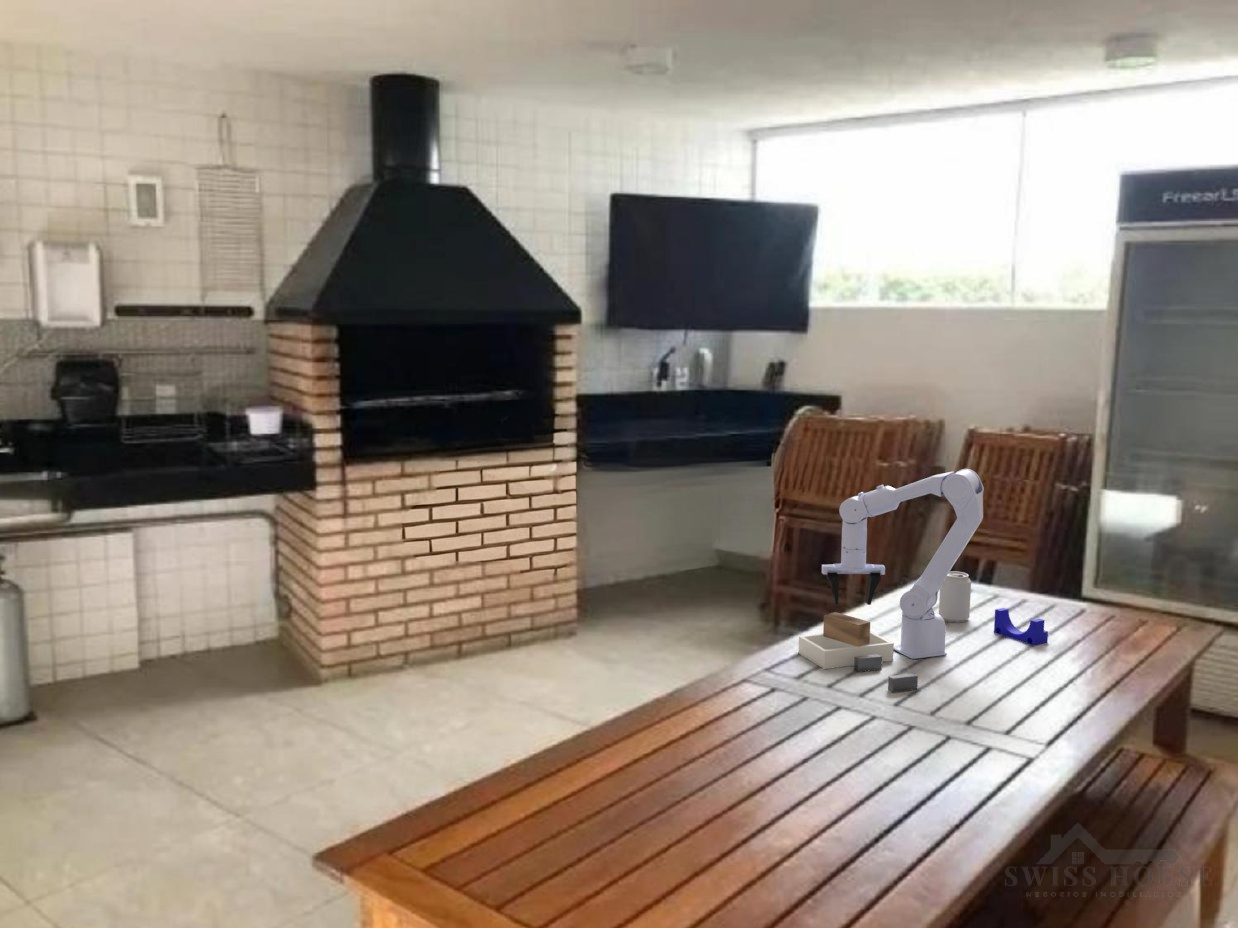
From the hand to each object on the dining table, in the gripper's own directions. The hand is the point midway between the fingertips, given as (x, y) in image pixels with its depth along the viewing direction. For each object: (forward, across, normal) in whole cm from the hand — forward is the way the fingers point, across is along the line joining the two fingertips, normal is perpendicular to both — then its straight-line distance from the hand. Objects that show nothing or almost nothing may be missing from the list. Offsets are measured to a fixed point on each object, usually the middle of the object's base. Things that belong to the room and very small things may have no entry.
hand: (852, 603), depth 248 cm
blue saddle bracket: (+10, +42, +4) cm, 43 cm away
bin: (+9, -4, -11) cm, 15 cm away
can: (+10, +30, +20) cm, 37 cm away
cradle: (+9, +2, -26) cm, 28 cm away
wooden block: (+5, -3, -11) cm, 13 cm away
